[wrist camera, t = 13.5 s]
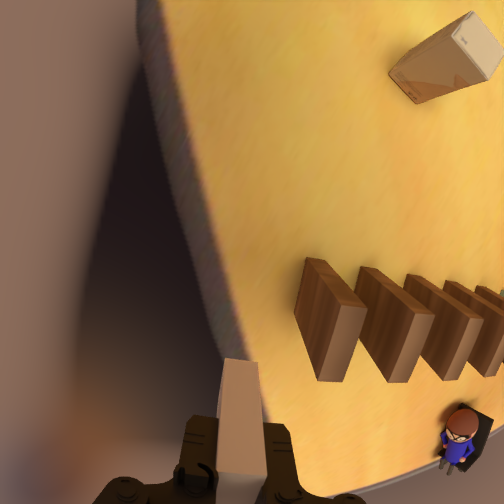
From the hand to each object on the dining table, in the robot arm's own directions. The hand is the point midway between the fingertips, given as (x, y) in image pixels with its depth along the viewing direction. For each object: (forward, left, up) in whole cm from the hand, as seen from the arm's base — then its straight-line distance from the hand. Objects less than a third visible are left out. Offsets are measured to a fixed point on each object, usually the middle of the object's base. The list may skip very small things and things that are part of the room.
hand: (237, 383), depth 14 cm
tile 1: (0, +7, -15) cm, 17 cm away
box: (-23, +14, -16) cm, 31 cm away
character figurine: (+21, +37, -16) cm, 45 cm away
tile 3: (0, +18, -15) cm, 23 cm away
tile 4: (0, +23, -15) cm, 28 cm away
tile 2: (0, +12, -15) cm, 20 cm away
